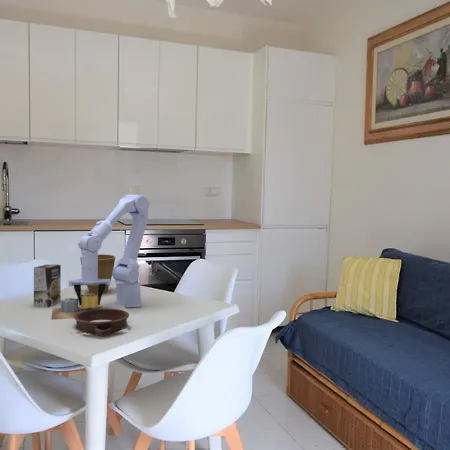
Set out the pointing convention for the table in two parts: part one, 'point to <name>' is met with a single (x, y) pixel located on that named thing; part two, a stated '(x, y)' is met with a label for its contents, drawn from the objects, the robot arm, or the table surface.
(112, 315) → the dish
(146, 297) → the table surface
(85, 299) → the ochre gear
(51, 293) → the coffee box
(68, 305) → the slate gear
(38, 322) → the table surface
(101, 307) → the gear board
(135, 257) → the robot arm
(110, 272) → the plant pot
